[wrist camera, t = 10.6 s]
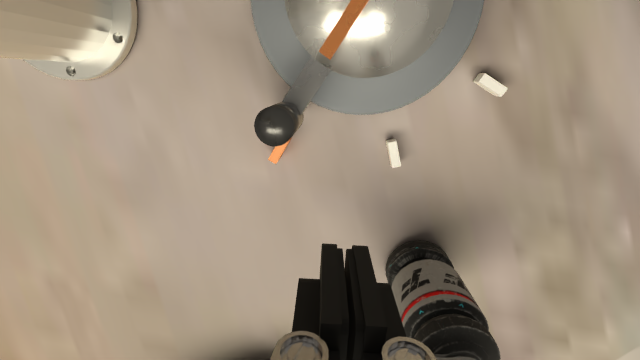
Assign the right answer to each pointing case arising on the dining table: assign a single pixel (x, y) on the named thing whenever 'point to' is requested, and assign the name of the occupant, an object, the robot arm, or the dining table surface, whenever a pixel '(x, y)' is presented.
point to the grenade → (438, 304)
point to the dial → (350, 48)
